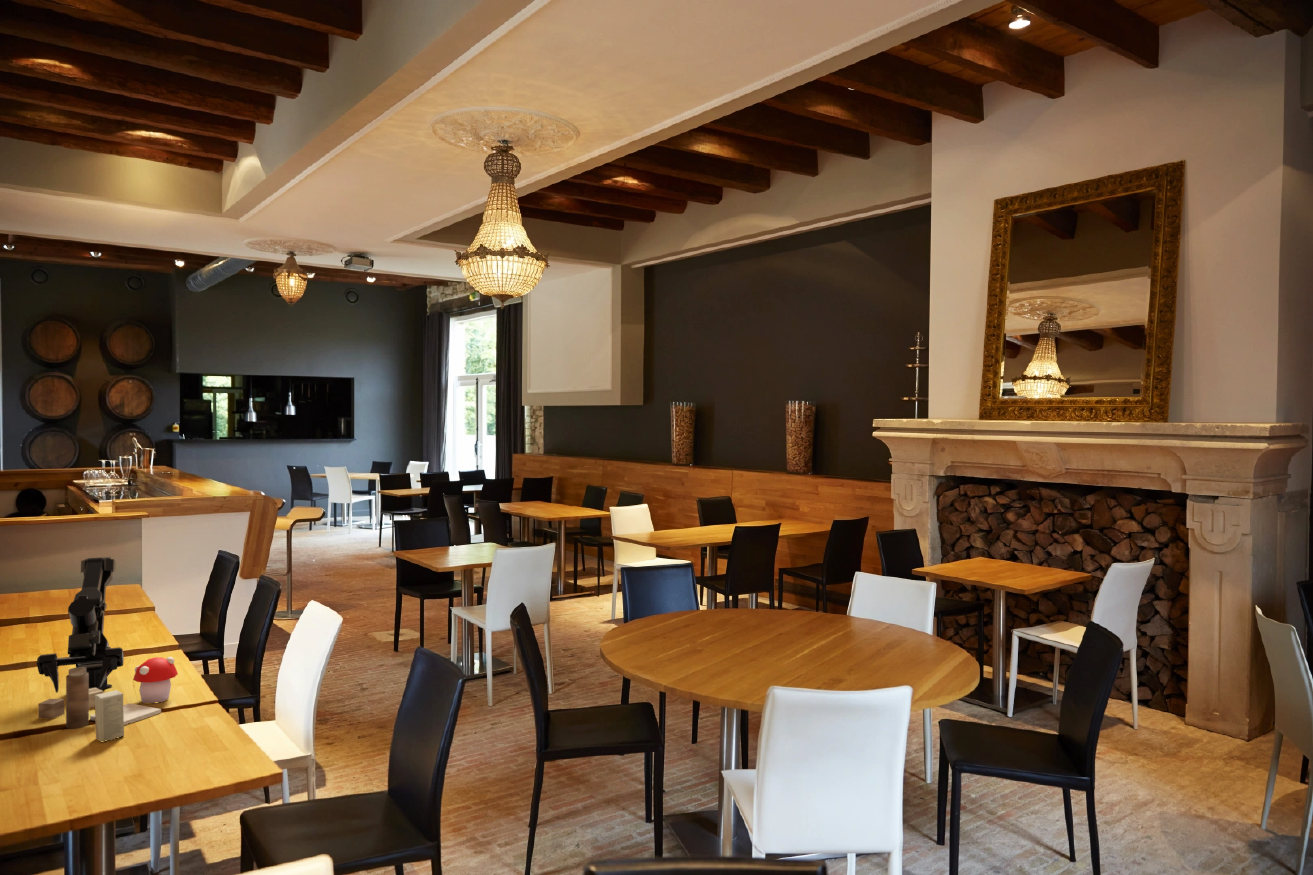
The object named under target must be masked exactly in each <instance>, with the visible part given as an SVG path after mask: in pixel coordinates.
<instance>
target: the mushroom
mask: <svg viewBox="0 0 1313 875" xmlns="http://www.w3.org/2000/svg"><path fill="white" fill-rule="evenodd" d="M178 674H179V673H178V671H177V669H176V666H175V658H174V657H172V656H167V657H166V658H164V657H159V656H158V657H157V656H156V657H151V658H148V659H146V660H145V661H144V662H142V664H140V665H137V666H135V667H134V676H133V679H132V680H133V681H135V682H136V683H140V686H139V689H138V690H139V695H140V700H141V703H142V702H143V703H142V704H144V703H155V702H161V703H163V701H164V702H166V701H165V700H167V699H168V698H169V697H170V693H171V690H172V689H171V687H172V683H171V679H173V678H176V677H177V676H178ZM169 699H170V698H169ZM169 699H168V700H169ZM168 700H167V701H168ZM155 704H156V703H155Z"/></svg>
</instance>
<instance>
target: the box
mask: <svg viewBox="0 0 1313 875" xmlns="http://www.w3.org/2000/svg"><path fill="white" fill-rule="evenodd" d="M123 705H124V693H123V692H120V690H117V689H115V690H112V691H107V692H103V693H102V694H98V695H95V707H94V709H95V710H94V714H95V739H96V740H97V739H98V740H100V741H105V740H111V741H113V740H112V739H114V740H116V739H115V738H117V737H121V736H124V737H125V725H124V714H123ZM98 740H97V741H98ZM100 741H99V742H100Z"/></svg>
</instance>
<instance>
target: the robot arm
mask: <svg viewBox="0 0 1313 875" xmlns="http://www.w3.org/2000/svg"><path fill="white" fill-rule="evenodd" d="M116 563H117V562H116V559H114V558H112V557H111V556H107V557H106V556H103V557H87V558H85V559H83V560H80V574H83V581H82V586H81V590H80V591H78V592H77V593H76V594H75V595H74V598H73V600H72V602H70V604H69V605H68V607H67V614H68V616H69V620H70V624H71V626H72V628H71V629H72V630H71V634H69V635H68V641H67V655H68V657H58V656H57V653H56V652H55V653H46V654H40V655H39V656H37V660H36V666H37V671H38V674H39V675H42V676H43V675H44V677H47V678H48V677H49V678H50V680H51V682H52V684H53V687H54V690H55V693H59V687H60V686H59V684H60V681H59V678H60V677H59V675H60V674H59V671H58V670H59V667H63V666H64V667H65V666H72V665H74V666H75V668H76V667H86V672H87V673H89V689H91V688H98V689H100V690H102V691H103V690H104V689H108V688H112V687H113V684H110V683H108V677H109V675H110V674H112V672H113V671H116V670H117V669H118V668H121V667H123V666H124V660H125V657H124V650H123V648H121V647H111V646H110V643H109V640H108V638H107V637H106V636H105V635H104V627H105V626H104V625H105V624H104V623H105V611H106V609H107V603H106V593H107V592H106V590H107V587H108V586H109V584H110V583H111V582H112V580H113V578H114V577H113V575H114V573H115V572H116V569H117V568H116V565H117V564H116Z"/></svg>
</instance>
